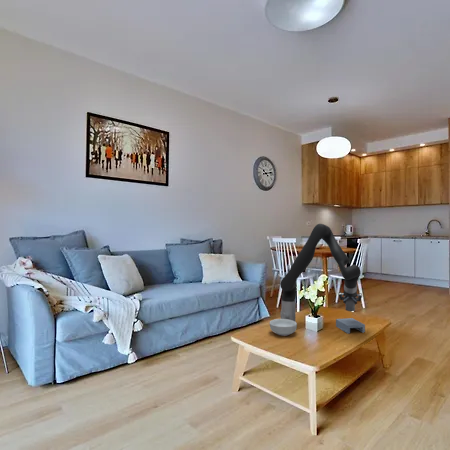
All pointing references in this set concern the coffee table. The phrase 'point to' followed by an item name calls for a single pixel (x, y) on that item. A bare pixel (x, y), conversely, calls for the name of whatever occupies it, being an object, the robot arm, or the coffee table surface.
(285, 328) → the cereal bowl
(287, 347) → the coffee table surface
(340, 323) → the bench shelf
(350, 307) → the dark grey cylinder
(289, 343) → the coffee table surface
